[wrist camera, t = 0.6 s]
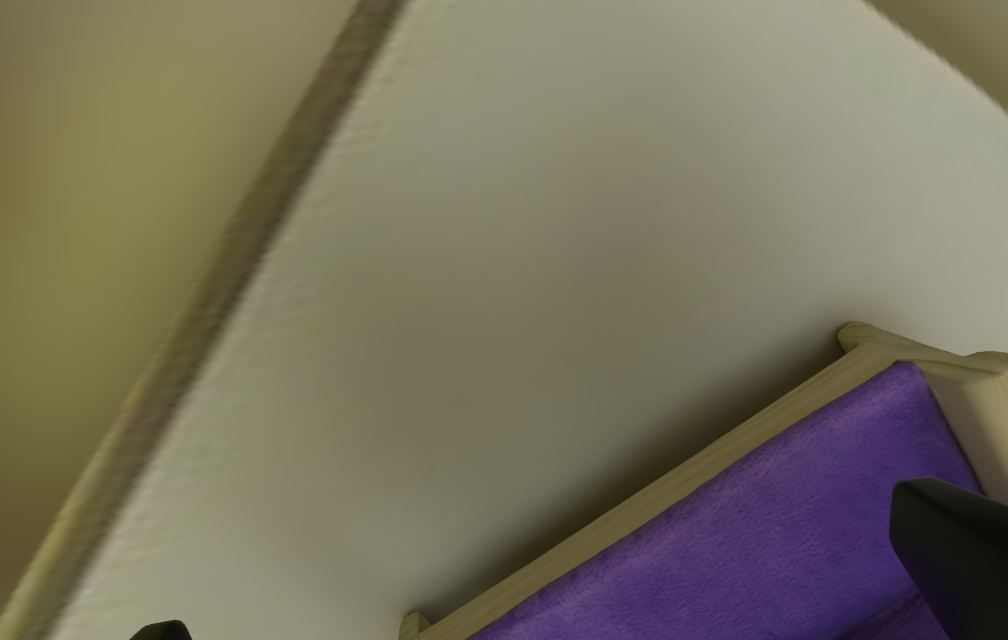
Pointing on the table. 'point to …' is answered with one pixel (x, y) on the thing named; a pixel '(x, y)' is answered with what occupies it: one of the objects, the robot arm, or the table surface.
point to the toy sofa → (772, 516)
